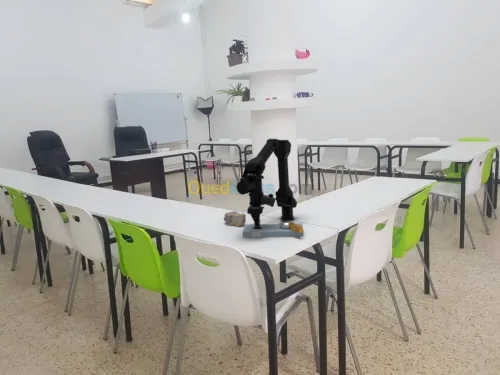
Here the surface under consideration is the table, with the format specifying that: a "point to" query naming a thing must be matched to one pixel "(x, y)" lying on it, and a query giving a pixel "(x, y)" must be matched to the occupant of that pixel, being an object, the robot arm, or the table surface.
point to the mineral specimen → (235, 218)
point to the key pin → (258, 225)
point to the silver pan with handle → (290, 226)
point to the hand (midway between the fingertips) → (257, 224)
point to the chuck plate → (269, 231)
